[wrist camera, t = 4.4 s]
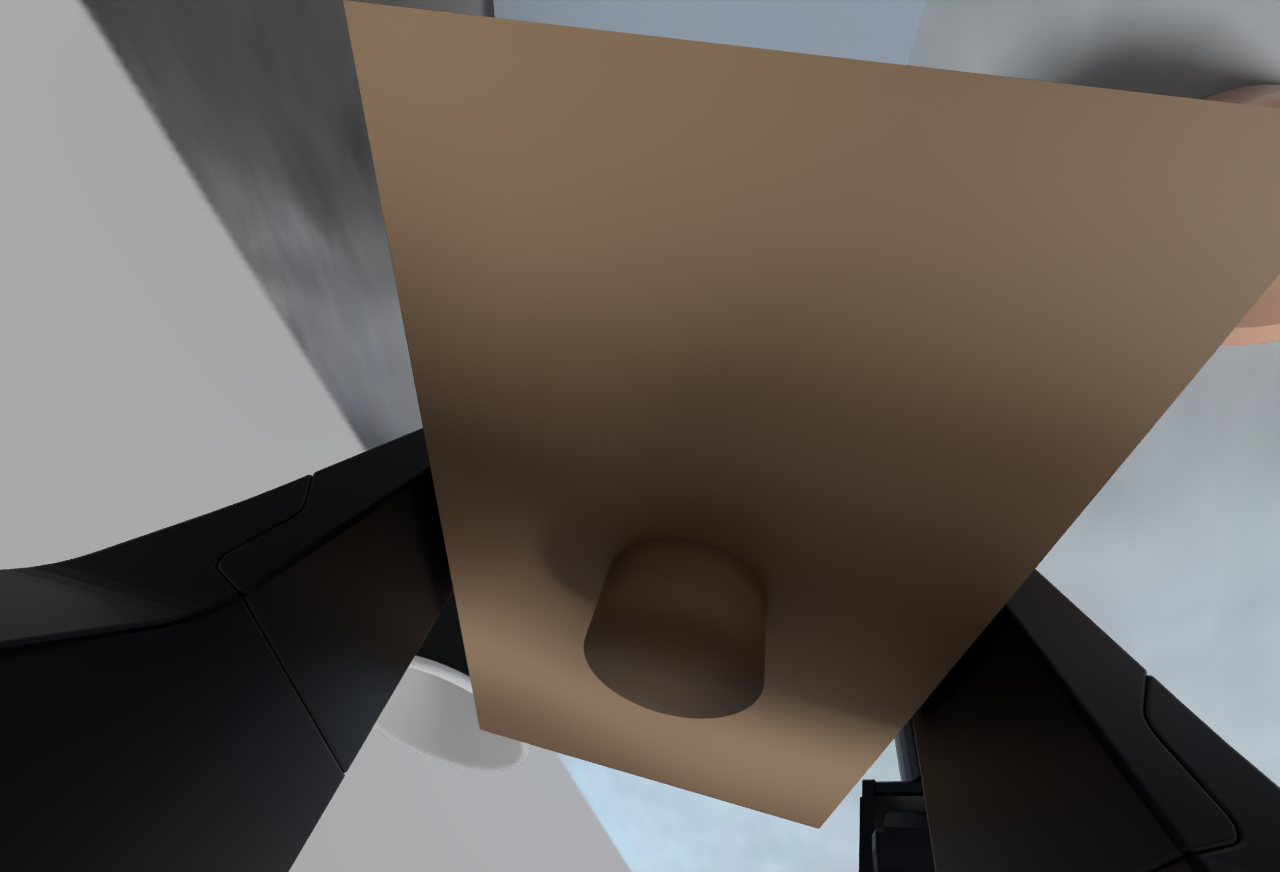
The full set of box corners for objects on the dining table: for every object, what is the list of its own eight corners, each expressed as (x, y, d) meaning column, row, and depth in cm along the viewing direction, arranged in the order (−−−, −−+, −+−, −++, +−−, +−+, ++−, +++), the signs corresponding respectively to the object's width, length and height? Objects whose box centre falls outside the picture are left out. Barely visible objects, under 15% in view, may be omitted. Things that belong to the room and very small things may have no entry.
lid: (814, 717, 11) (821, 898, 9) (520, 639, 12) (454, 786, 10) (1189, 97, 5) (1632, 148, 2) (475, 15, 5) (221, -18, 3)
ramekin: (1242, 309, 16) (1335, 361, 14) (1045, 284, 17) (1094, 328, 14) (1409, 93, 13) (1578, 103, 10) (1155, 74, 14) (1248, 78, 11)
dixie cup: (447, 512, 31) (310, 694, 22) (517, 440, 26) (381, 632, 17) (554, 590, 33) (467, 786, 24) (636, 535, 28) (567, 750, 19)
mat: (786, 467, 23) (786, 474, 23) (530, 419, 25) (526, 425, 25) (922, 0, 14) (926, -1, 14) (498, -25, 16) (491, -27, 15)
